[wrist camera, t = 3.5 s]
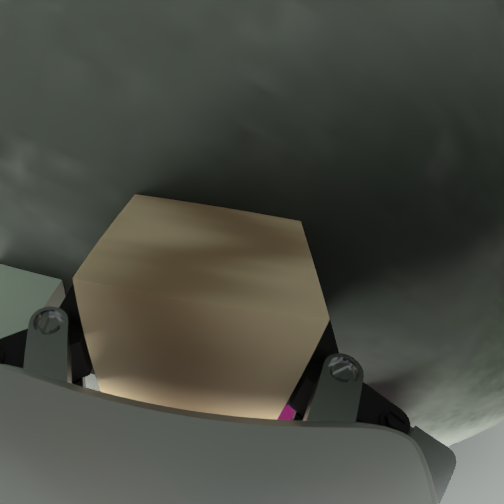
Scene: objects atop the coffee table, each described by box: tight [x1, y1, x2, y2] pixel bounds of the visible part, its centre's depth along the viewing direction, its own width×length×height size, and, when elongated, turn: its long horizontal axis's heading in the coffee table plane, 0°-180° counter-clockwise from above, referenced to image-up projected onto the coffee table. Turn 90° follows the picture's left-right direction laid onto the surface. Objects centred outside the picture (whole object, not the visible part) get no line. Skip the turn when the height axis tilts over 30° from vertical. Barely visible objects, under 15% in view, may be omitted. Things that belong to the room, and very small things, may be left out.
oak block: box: [72, 194, 330, 420], centre depth 10 cm, size 6×6×5 cm
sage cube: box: [0, 264, 66, 339], centre depth 12 cm, size 4×4×4 cm
